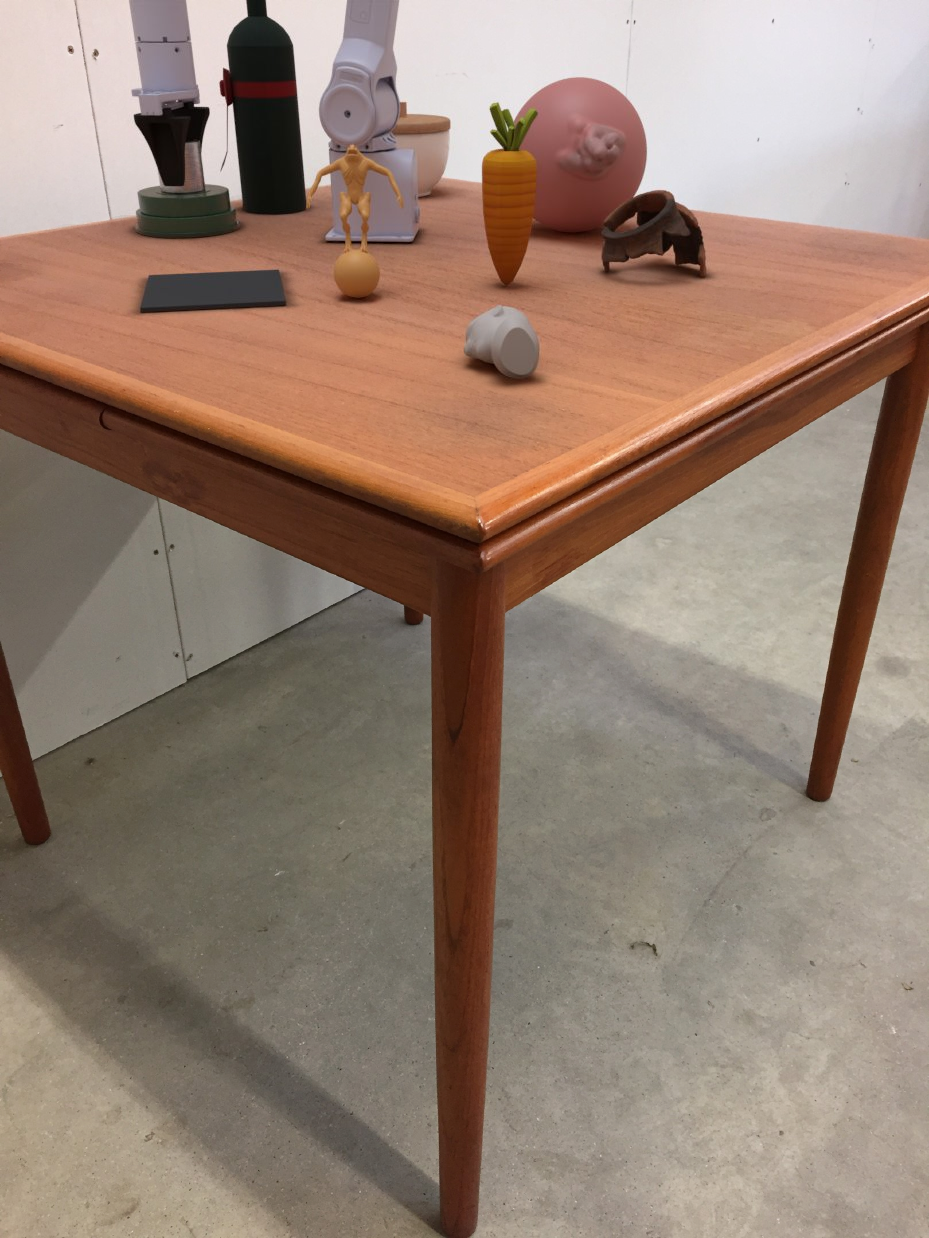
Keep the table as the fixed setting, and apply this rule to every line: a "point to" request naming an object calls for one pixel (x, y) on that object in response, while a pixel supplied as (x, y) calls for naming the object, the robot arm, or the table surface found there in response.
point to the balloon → (583, 152)
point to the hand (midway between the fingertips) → (182, 182)
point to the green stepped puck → (185, 213)
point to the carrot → (508, 193)
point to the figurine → (357, 266)
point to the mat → (213, 290)
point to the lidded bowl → (424, 145)
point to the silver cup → (189, 170)
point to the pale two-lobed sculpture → (504, 341)
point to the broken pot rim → (653, 231)
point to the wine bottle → (265, 113)
